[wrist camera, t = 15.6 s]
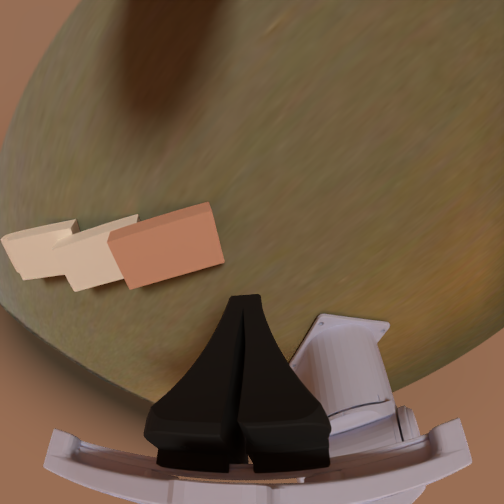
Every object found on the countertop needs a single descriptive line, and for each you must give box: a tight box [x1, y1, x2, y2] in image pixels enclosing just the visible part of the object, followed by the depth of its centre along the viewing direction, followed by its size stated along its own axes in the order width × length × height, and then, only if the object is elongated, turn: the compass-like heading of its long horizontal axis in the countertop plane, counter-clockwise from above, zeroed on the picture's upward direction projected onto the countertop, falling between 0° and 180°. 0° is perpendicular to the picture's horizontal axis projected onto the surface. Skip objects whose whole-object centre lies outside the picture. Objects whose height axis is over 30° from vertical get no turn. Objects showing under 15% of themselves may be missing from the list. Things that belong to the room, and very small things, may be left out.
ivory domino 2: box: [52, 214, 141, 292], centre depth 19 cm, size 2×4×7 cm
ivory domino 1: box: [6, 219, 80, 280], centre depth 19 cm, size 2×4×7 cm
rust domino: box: [107, 202, 225, 290], centre depth 19 cm, size 2×4×7 cm
